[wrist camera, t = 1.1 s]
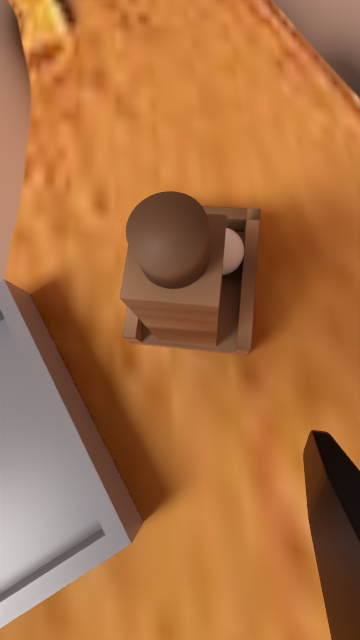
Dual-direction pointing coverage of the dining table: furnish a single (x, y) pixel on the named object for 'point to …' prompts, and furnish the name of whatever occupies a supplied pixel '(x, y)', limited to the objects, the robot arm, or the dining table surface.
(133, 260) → the brown wooden box
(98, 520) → the bin
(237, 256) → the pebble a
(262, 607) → the dining table surface
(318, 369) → the dining table surface
